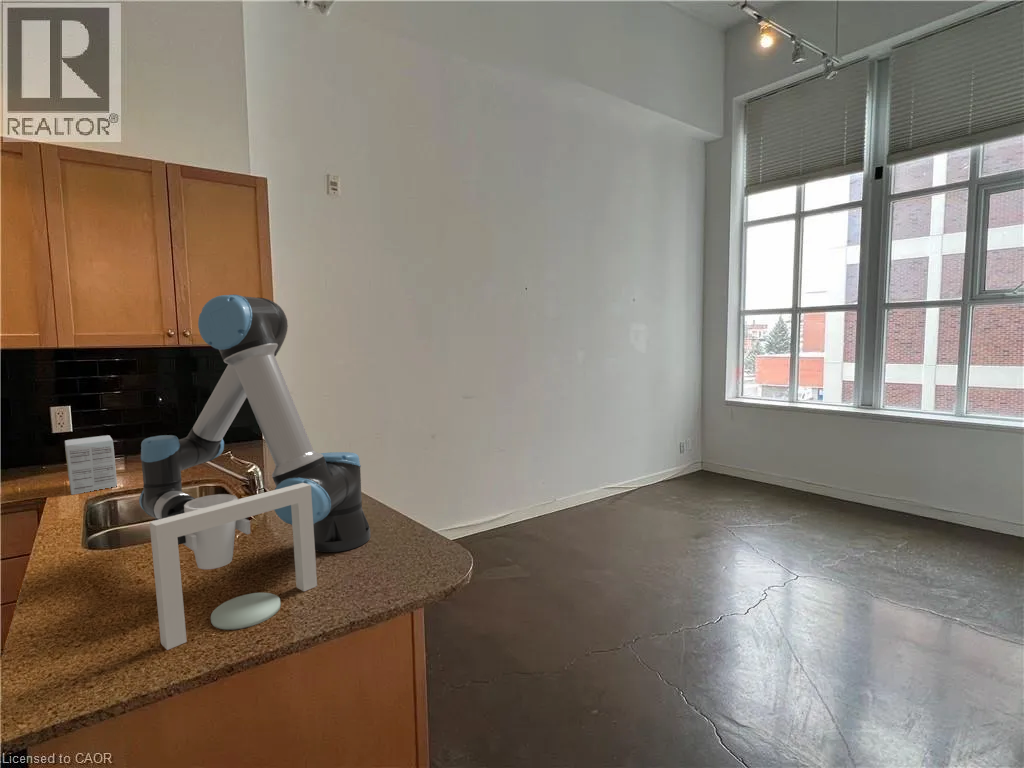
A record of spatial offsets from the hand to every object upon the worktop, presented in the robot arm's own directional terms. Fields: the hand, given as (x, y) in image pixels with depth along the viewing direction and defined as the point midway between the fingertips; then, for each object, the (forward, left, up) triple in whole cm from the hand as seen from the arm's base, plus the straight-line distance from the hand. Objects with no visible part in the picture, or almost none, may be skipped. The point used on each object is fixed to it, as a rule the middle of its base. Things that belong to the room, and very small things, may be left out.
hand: (222, 535), depth 104 cm
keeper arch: (0, +8, -14) cm, 16 cm away
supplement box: (-6, -125, -14) cm, 126 cm away
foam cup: (0, -5, -7) cm, 8 cm away
